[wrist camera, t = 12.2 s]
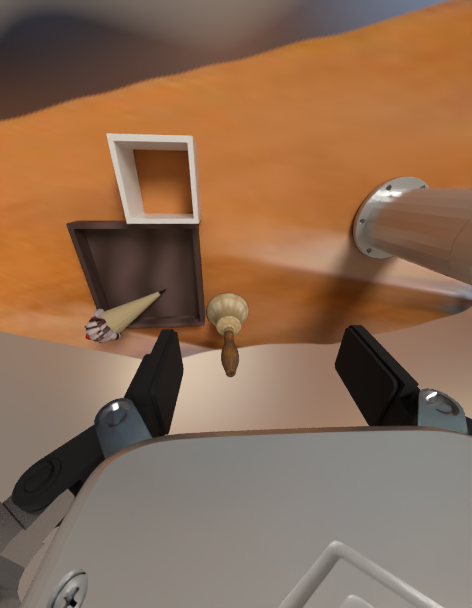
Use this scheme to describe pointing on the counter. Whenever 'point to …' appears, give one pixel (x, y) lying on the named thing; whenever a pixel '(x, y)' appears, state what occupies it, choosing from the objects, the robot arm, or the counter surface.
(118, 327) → the ice cream cone
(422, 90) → the counter surface
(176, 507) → the robot arm
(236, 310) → the hand bell
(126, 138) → the frame
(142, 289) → the tray
